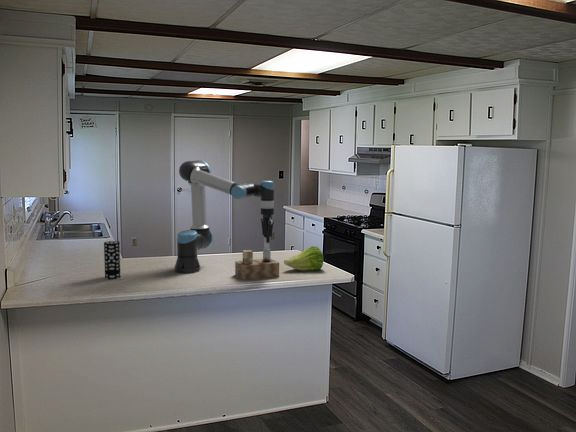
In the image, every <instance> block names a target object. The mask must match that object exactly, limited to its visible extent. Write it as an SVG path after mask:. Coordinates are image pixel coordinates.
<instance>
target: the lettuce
mask: <svg viewBox="0 0 576 432" xmlns="http://www.w3.org/2000/svg"><path fill="white" fill-rule="evenodd" d="M324 261H325V260H324V254H323V252H322V250H321V249H320V248H319V247H318V246H314V245H313V246H310V247H308V248H306V249H305V250H303V251H301V252H300V253H298V254H296V255H295V254H294V255H293V256H290V257H289V258H286V259H283V264H284V265H285V266H287V267H290V268H292V269H295V270H297V271H301V272H302V271H303V272H307V271H309V272H310V271H311V272H312V271H313V272H314V271H318V270H321V269H322V268H323V265H324Z"/></svg>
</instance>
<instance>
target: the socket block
mask: <svg viewBox="0 0 576 432" xmlns="http://www.w3.org/2000/svg"><path fill="white" fill-rule="evenodd" d="M234 262H235V263H234V272H235V273H234V274H235V276H236V277H238V278H240V279H242V280H243V281H249V280H257V279H267V278H276V277H280V262H279V261H276V260H275V259H272V258H270V262H263V258H258V259H257V258H256V259H253V264H244V263H243V260H236V261H234Z"/></svg>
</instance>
